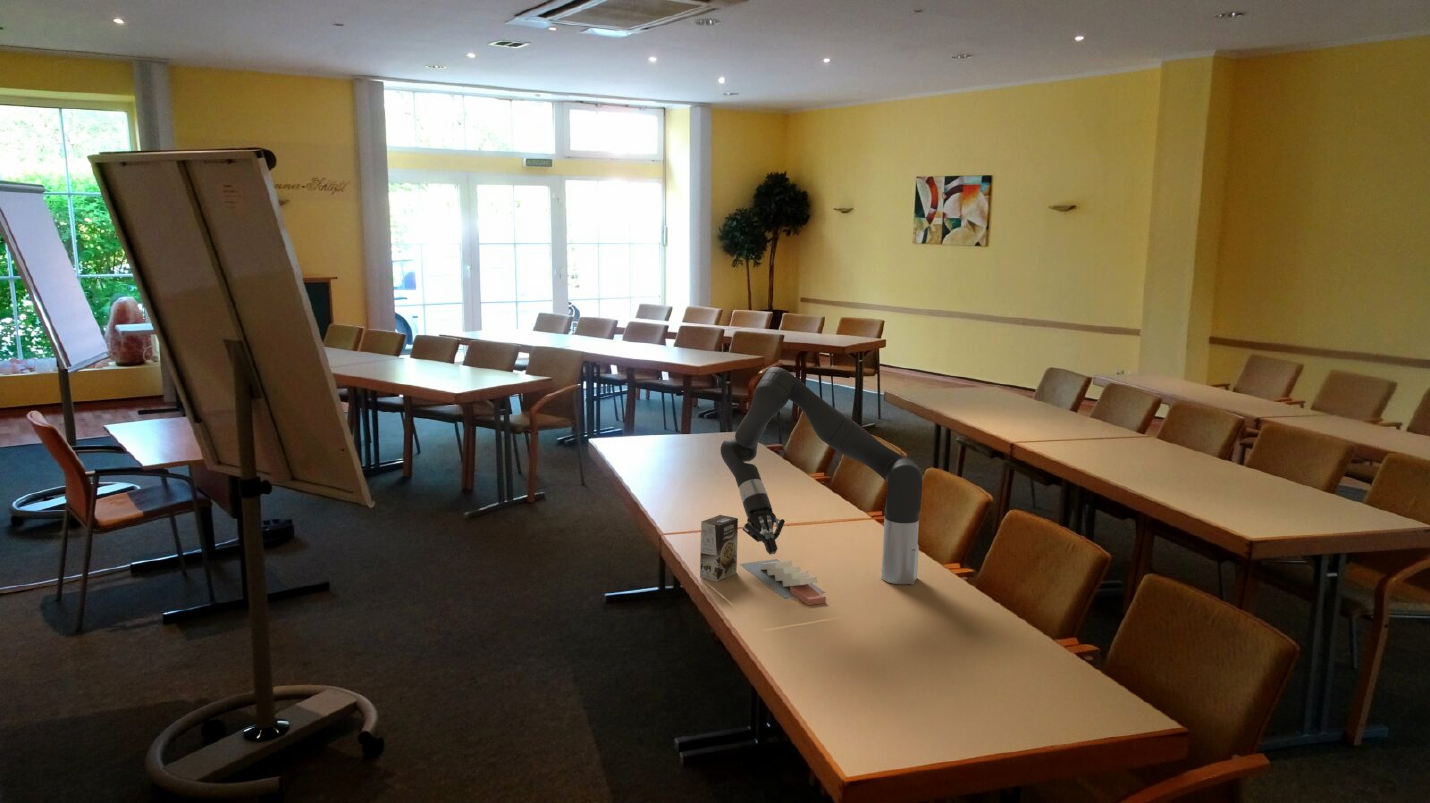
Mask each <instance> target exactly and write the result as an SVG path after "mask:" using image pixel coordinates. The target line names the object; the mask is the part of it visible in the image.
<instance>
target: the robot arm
mask: <svg viewBox="0 0 1430 803" xmlns="http://www.w3.org/2000/svg"><path fill="white" fill-rule="evenodd" d="M752 397H753V398H752V401H751V405H750V408H749V410H748V412H747V414H746V415H745V416H744V417H743V419H742V420H741V422H740V424H739V426H738V427H737V429H736V431H735V433H734V434H735V435H734V438H729V439H725V440H723V441H722V443H721V446H720V455H721V459H722V460H723V462H724V464H725V465H726V466H727V468H728V469H729V470H730V472H731V474H732V475H733V477H734V478H735V482H736V484H737V488H738V491H739V496H740V500H741V503H742V505H743V509H744V512H745V515H746V517H747V520H746V521H747V522H746V523H745V524H744V525H743V527H742V531H743V532H745V533H746V534H747V535H748V536H749V537H751V538H752V539H753V540H754V541H756V542H757V543H759V542H762V543H763V544H764V547H765V550H766V552H767V553H768V554H769V555H775V554H776V553H777V550H778V545H777V543H776V540H777V539H778V538H779V536H780V534H781V532H782V531H783V530H782V529H783V527H784V524H785V521H786V520H785V519H784V518H781V519H779V518H778V517H777V516H776V514H775V513H774V511H773V507H772V505H771V501H770V497H769V496H768V492H767V490H766V487H765V485H764V483H763V481H762V478H761V475H760V472H759V469H758V467H757V466H756V465H755V464H753V463H750V462H751V461H752V460H754V459H755V458H756V457H757V453H758V452H757V451H758V445H759V441H760V440H761V438H762V436H763V434H764V433H765V431H766V429H767V425H768V423H770V421H771V420H772V419H773V418H774V417H775V415H777V414H778V413H779V412H780V411H781V410H782V409H783V408H784V407H785V406H786V405H787V403H788V402H789V401H791V402H792V403H794V405H796V406H797V407H799V408H800V409H801V411H802V412H803V413H804V414H805V416H806V418H807V419H808V421H809V424H810V425H811V427H812V428H813V431H814V433H815V434H816V435H817V437H818V438H819V439H820V440H821V441H822V442H824V444H826V445H828V446H829V447H831V448H832V449H833V450H834V451H836V452H838V453H840V454H842V455H843V456H846V457H847V458H850V459H852V460H854V461H857V462H858V463H861V464H863V465H865V466H867V467H868V468H869V469H872V471H874V472H875V473H876V474H878V475H879V476H880V477H881V478H882V479H883V480H885V482H886V483H887V484H886V502H885V508H884V516H883V517H884V520H883V521H884V523H883V541H882V542H883V543H882V557H881V559H882V560H881V579H882V580H883V581H885V582H886V583H890V584H893V585H914V584H915V582H916V580H917V579H918V570H919V569H918V567H919V550H920V544H918V542H919V524H920V513H921V511H922V510H921V508H922V496H923V476H922V473H921V471H920V468H919V466H918V465H917V464H916V463H915V462H914V461H913V460H911V459H910V458H907V457H906V456H903V455H902V454H900V453H898V452H896V451H895V450H893V449H891V448H889V447H887V446H886V445H884V444H883V443H882V442H880V440H878V439H877V438H876V437H874V436H873V435H872V434H871V433H869V432H868V431H867V430H866V429H865V428H864V427H862V426H861V425H860V424H858V423H857V422H855V420H853V419H851V418H850V417H849V416H848V415H845V414H844V413H842V412H841V411H839V410H838V409H837V408H835V407H834V406H832V405H831V404H829V403H828V401H825V400H824V399H823V398H821V396H819V395H817V394H816V393H815V392H814V391H813V390H811V389H810V388H809V387H808V386H806V384H804V383H803V382H802V381H801V380H799V378H797V377H796V376H795V375H794V374H793V373H791V372H789V370H787V369H784V368H782V367H778V366H772V367H769V368H768V369H767V370H766V371H765V372H764V374H763V376H762V378H761V379H760V380H759V382H758V383H757V385H756V387H755V390H754V393H753V396H752ZM748 462H749V463H748ZM774 526H775V530H774Z"/></svg>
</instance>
